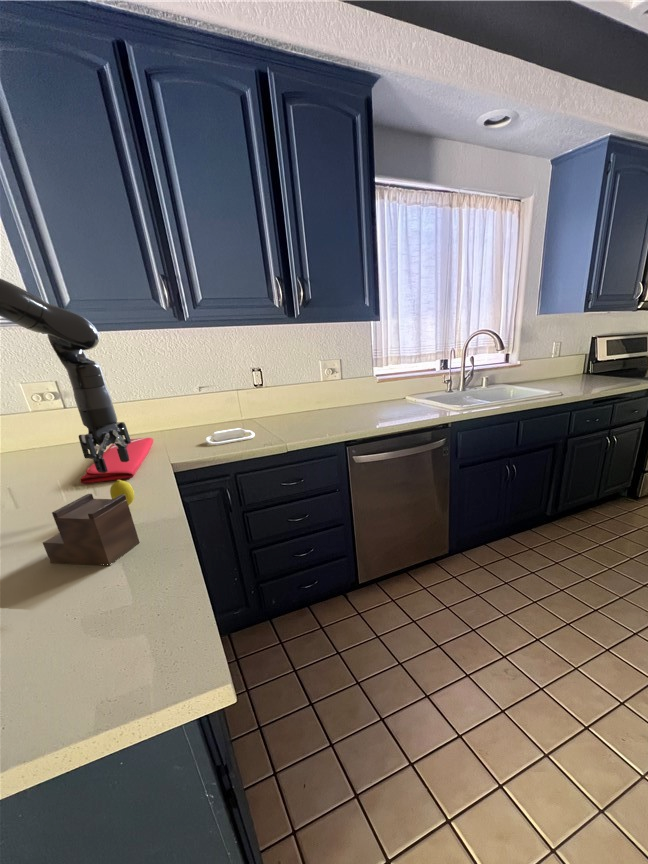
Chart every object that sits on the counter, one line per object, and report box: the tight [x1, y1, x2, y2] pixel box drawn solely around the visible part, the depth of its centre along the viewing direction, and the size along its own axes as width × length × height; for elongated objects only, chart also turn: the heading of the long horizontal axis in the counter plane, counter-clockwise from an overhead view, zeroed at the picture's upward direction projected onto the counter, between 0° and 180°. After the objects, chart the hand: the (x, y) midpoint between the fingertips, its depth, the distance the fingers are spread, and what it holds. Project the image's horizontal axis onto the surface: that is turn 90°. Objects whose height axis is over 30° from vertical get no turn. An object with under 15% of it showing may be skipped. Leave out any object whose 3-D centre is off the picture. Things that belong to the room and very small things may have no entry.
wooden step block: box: [42, 493, 140, 566], centre depth 93 cm, size 14×10×12 cm
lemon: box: [109, 479, 135, 507], centre depth 117 cm, size 6×6×8 cm
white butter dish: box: [205, 427, 256, 446], centre depth 179 cm, size 20×8×4 cm, turn 125°
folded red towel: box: [79, 437, 154, 484], centre depth 154 cm, size 16×41×4 cm, turn 17°
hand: (114, 466), depth 113 cm, fingers open, 8 cm apart
